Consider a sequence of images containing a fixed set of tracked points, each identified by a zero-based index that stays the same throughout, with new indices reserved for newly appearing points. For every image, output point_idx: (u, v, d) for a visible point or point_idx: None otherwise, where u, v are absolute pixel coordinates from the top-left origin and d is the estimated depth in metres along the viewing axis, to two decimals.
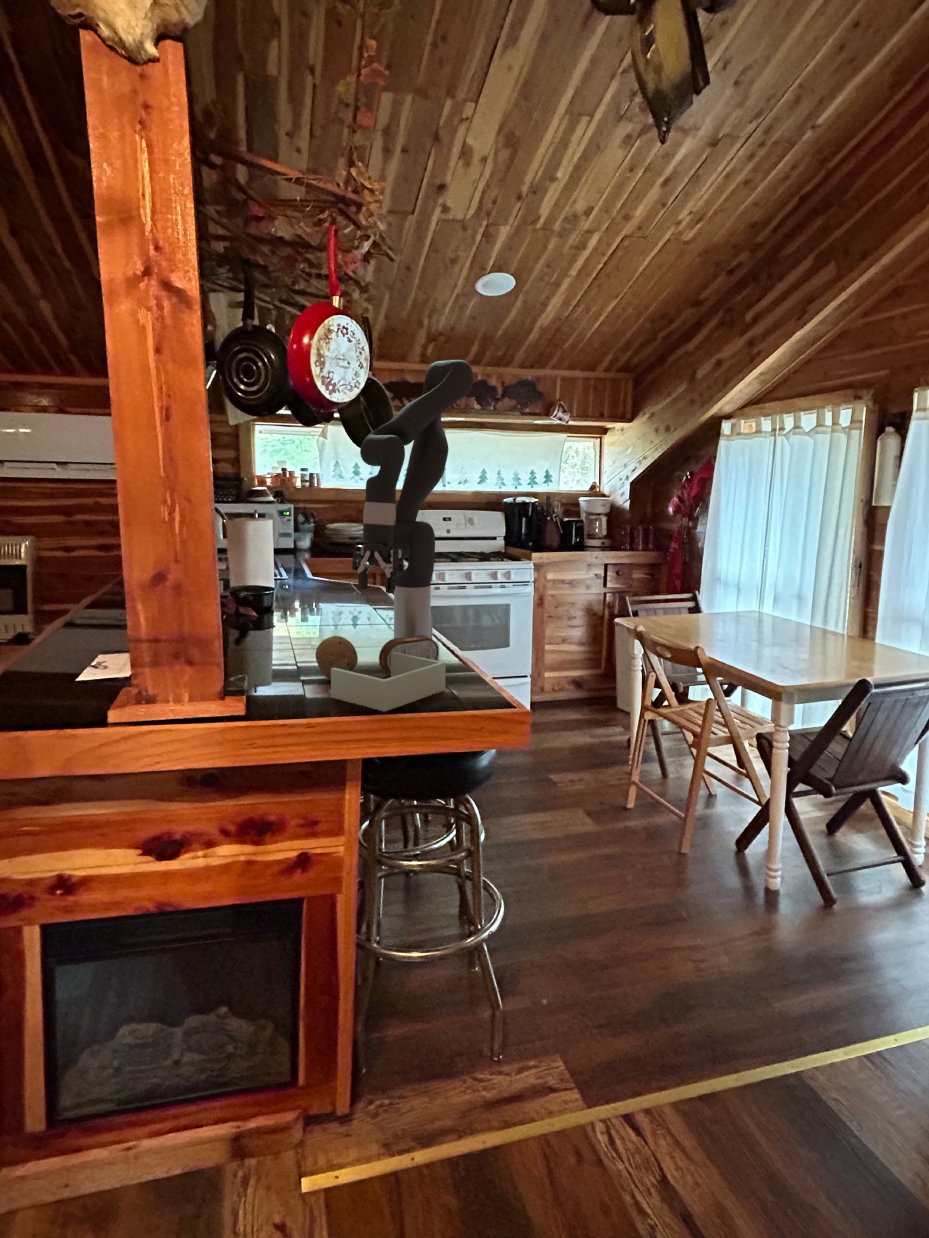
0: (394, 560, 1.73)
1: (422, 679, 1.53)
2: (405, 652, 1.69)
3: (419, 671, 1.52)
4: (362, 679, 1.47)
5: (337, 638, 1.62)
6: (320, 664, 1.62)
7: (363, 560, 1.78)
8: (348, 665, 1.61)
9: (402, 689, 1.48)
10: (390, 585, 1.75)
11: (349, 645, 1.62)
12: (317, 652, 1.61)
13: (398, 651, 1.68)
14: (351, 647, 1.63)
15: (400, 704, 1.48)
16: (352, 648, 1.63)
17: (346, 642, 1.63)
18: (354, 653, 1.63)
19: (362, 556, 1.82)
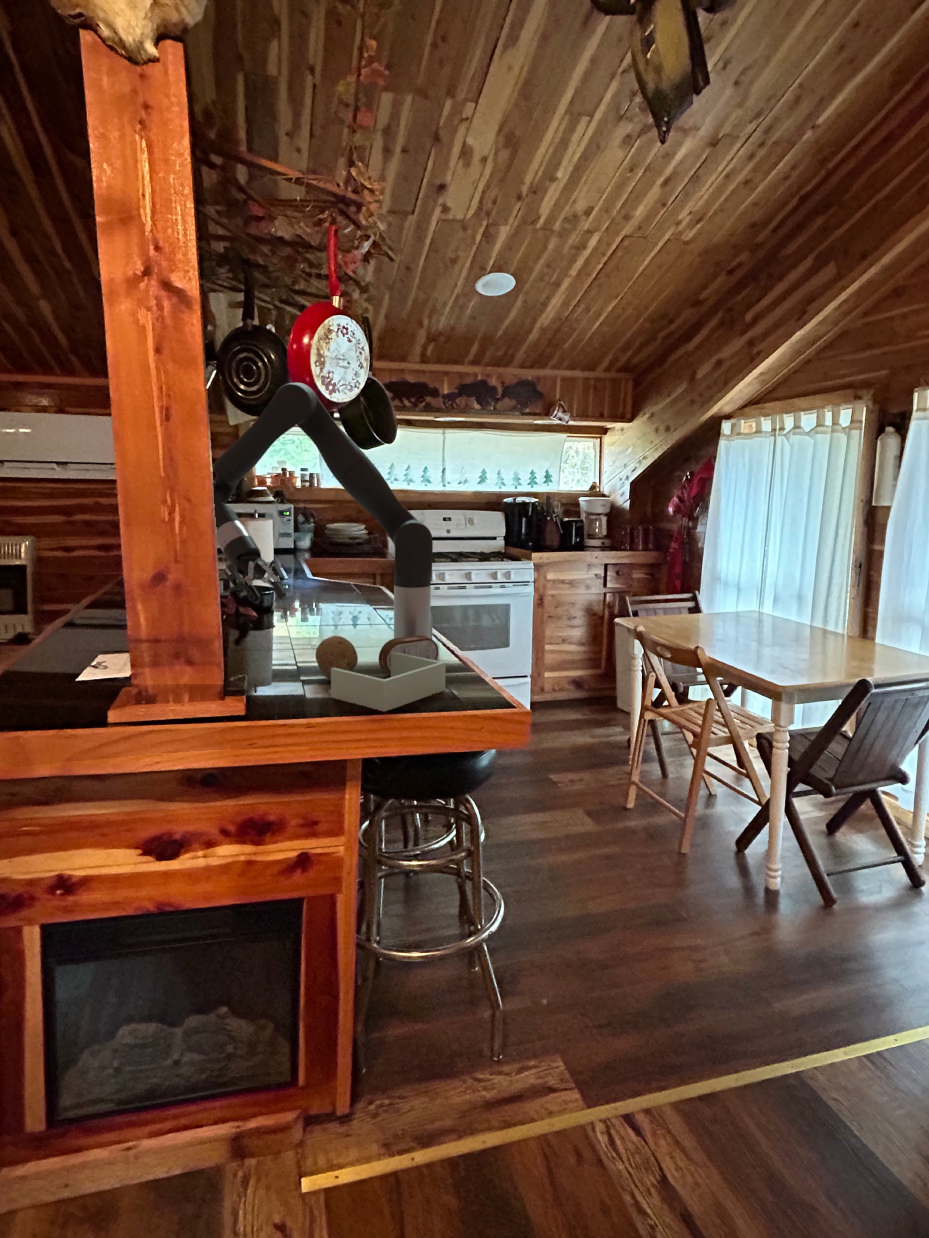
0: None
1: (422, 679, 1.53)
2: (405, 652, 1.70)
3: (419, 671, 1.52)
4: (362, 679, 1.47)
5: (337, 638, 1.62)
6: (320, 664, 1.62)
7: None
8: (348, 665, 1.61)
9: (402, 689, 1.48)
10: None
11: (349, 645, 1.62)
12: (317, 652, 1.61)
13: (398, 651, 1.68)
14: (351, 647, 1.63)
15: (400, 704, 1.48)
16: (352, 648, 1.63)
17: (346, 642, 1.63)
18: (354, 653, 1.63)
19: (275, 568, 1.81)
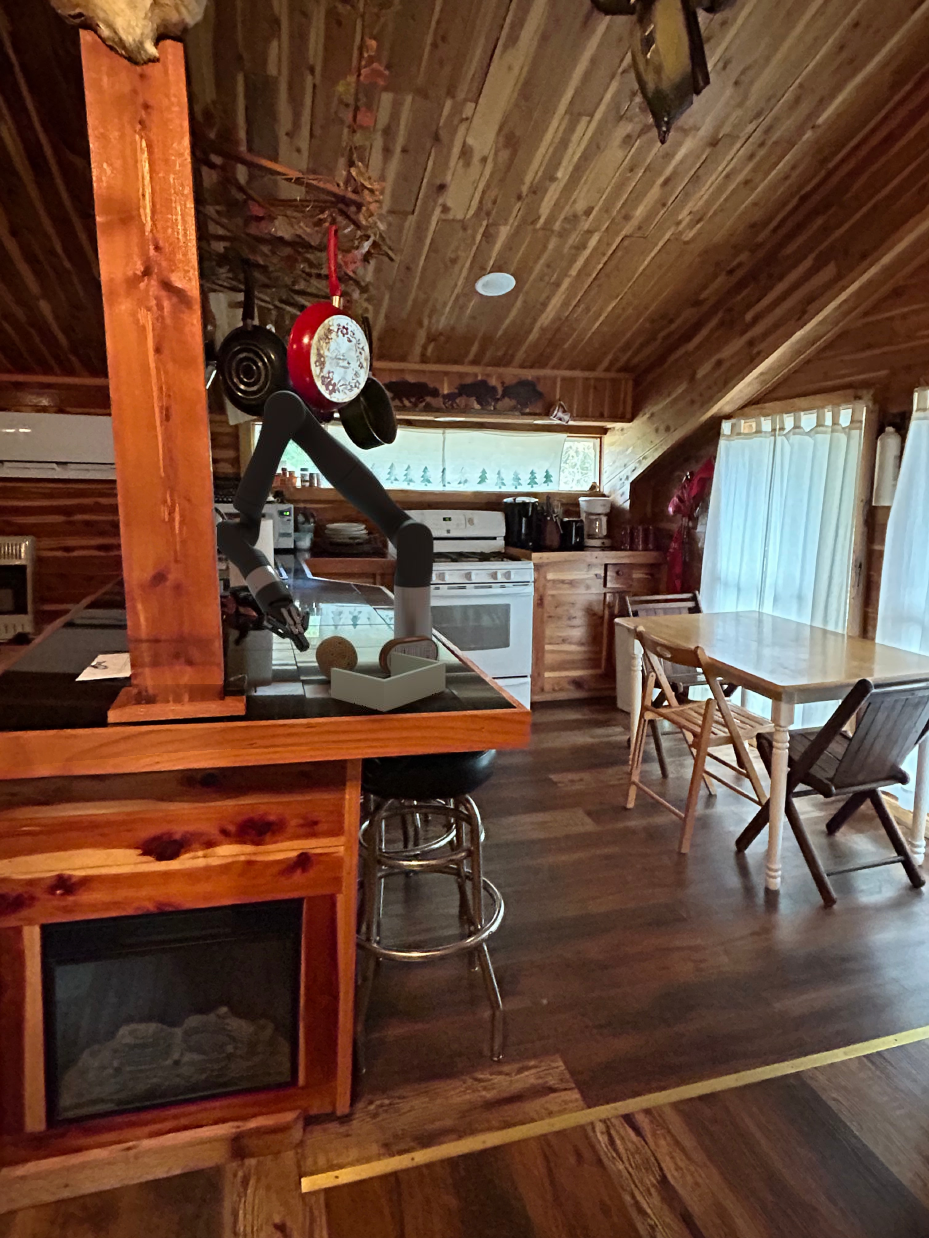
0: None
1: (422, 679, 1.53)
2: (405, 652, 1.70)
3: (419, 671, 1.52)
4: (362, 679, 1.47)
5: (337, 638, 1.62)
6: (320, 664, 1.62)
7: None
8: (348, 665, 1.61)
9: (402, 689, 1.48)
10: None
11: (349, 645, 1.62)
12: (317, 652, 1.61)
13: (398, 651, 1.68)
14: (351, 647, 1.63)
15: (400, 704, 1.48)
16: (352, 648, 1.63)
17: (346, 642, 1.63)
18: (354, 653, 1.63)
19: (303, 618, 1.75)
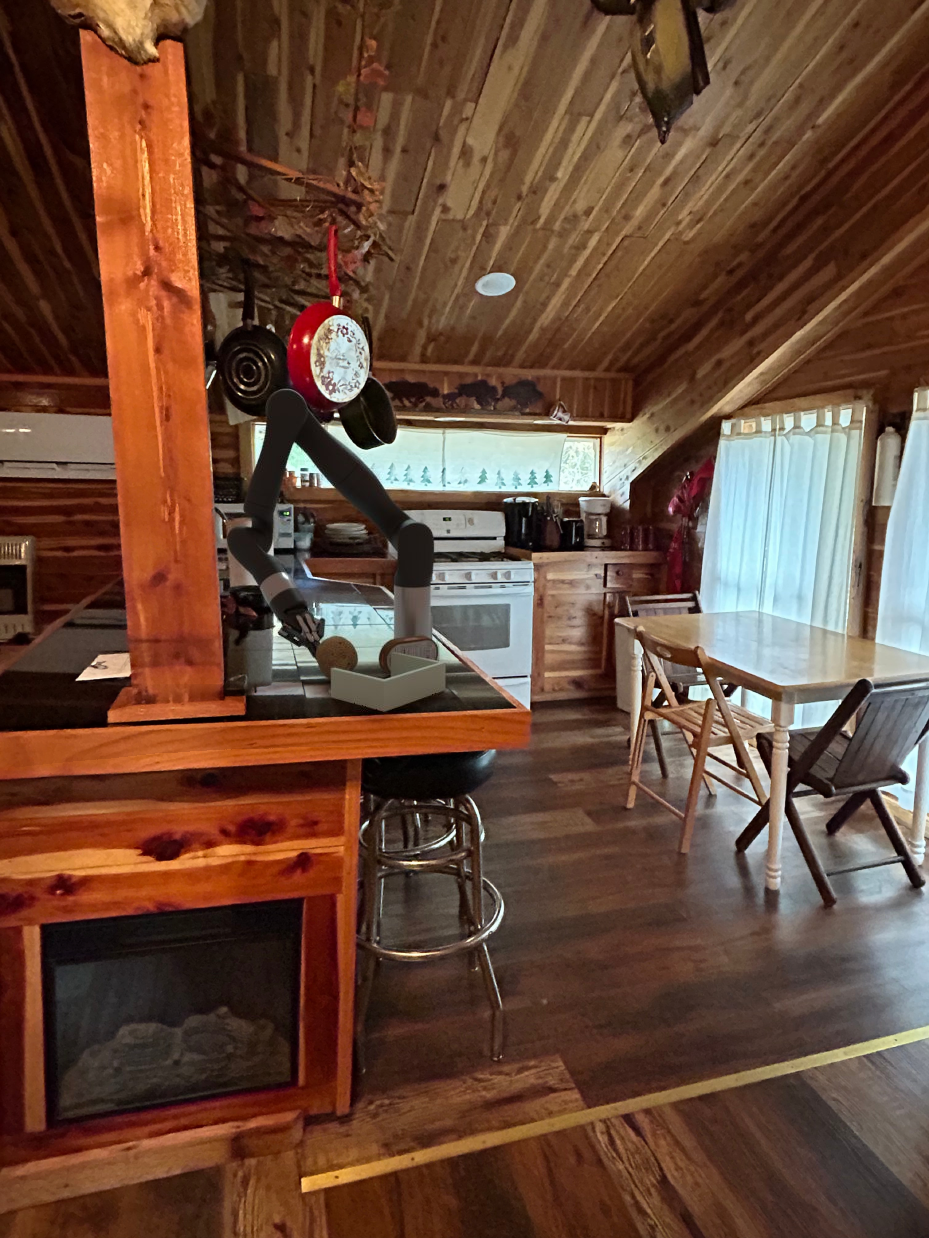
0: None
1: (422, 679, 1.53)
2: (405, 652, 1.70)
3: (419, 671, 1.52)
4: (362, 679, 1.47)
5: (337, 638, 1.62)
6: (320, 664, 1.62)
7: None
8: (348, 666, 1.61)
9: (402, 689, 1.48)
10: None
11: (349, 645, 1.62)
12: (317, 652, 1.61)
13: (398, 651, 1.68)
14: (351, 647, 1.63)
15: (400, 704, 1.48)
16: (352, 648, 1.62)
17: (346, 642, 1.62)
18: (354, 653, 1.63)
19: (319, 625, 1.72)
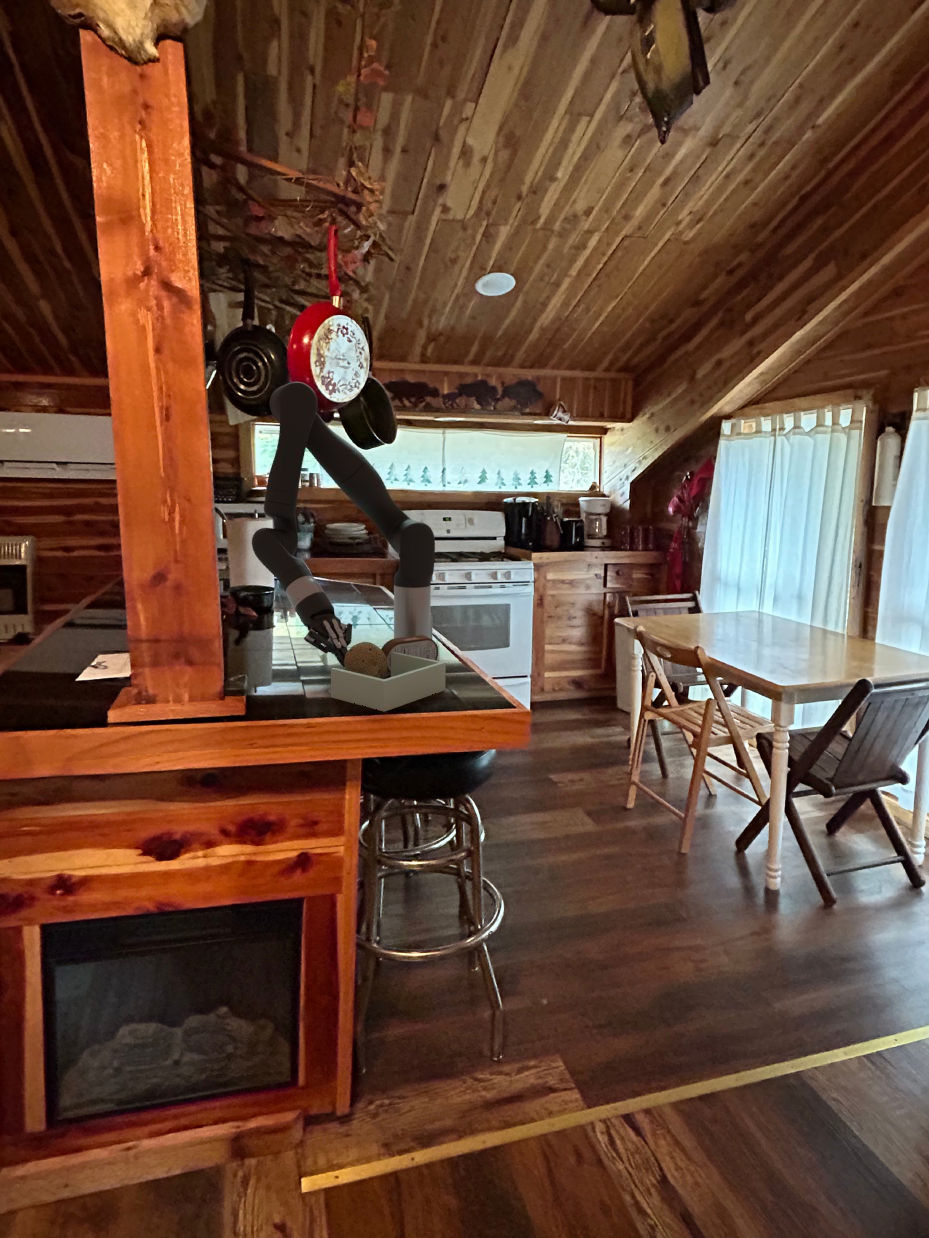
0: None
1: (422, 679, 1.53)
2: (405, 652, 1.70)
3: (419, 671, 1.52)
4: (362, 679, 1.47)
5: (367, 644, 1.57)
6: None
7: None
8: (379, 673, 1.56)
9: (402, 689, 1.48)
10: None
11: (379, 651, 1.57)
12: (347, 659, 1.56)
13: (398, 651, 1.68)
14: (381, 653, 1.57)
15: (400, 704, 1.48)
16: (382, 655, 1.57)
17: (376, 648, 1.57)
18: (384, 660, 1.58)
19: (346, 631, 1.67)
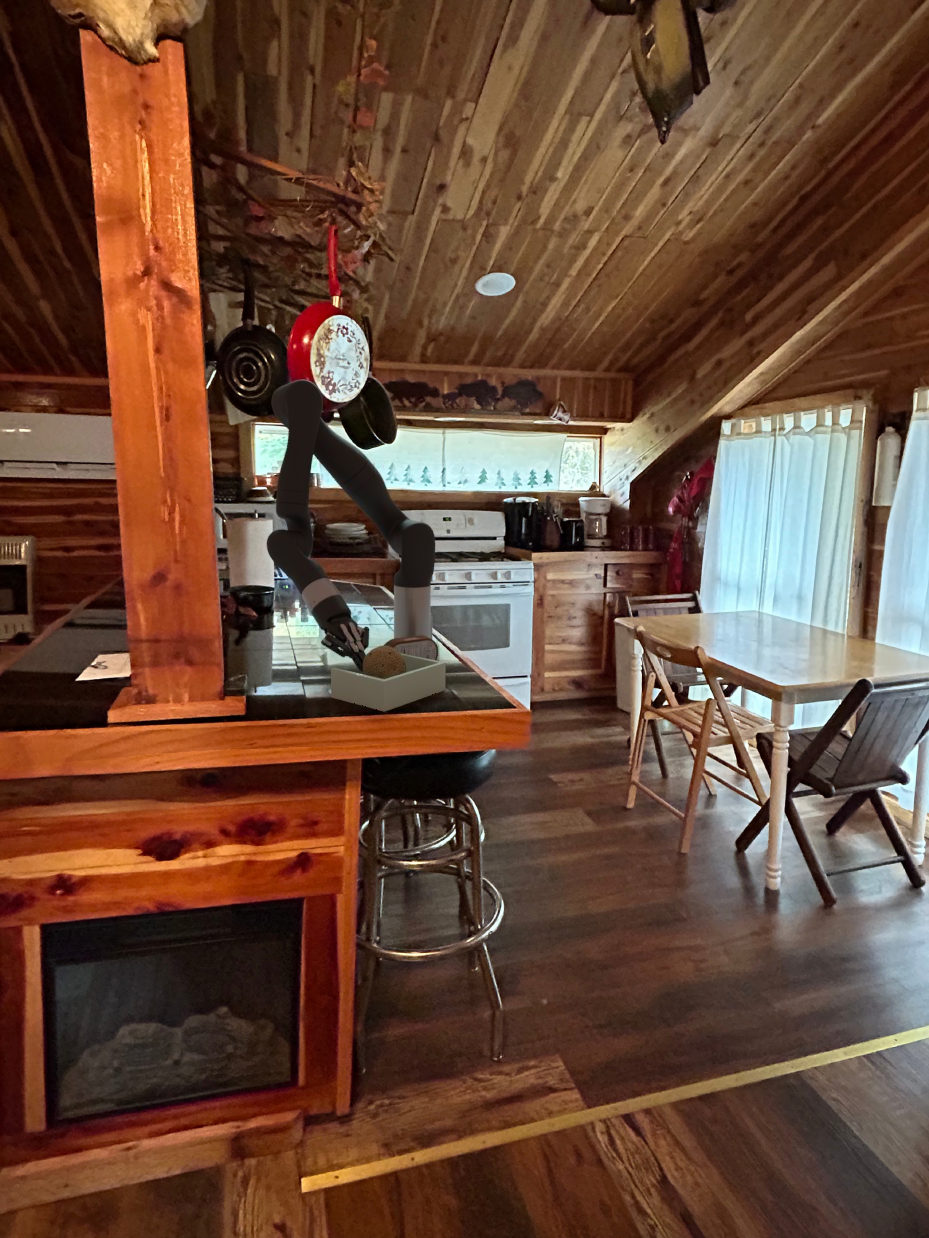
0: None
1: (422, 679, 1.53)
2: (405, 652, 1.70)
3: (419, 671, 1.52)
4: (362, 679, 1.47)
5: (386, 648, 1.54)
6: None
7: None
8: None
9: (402, 689, 1.48)
10: None
11: (399, 655, 1.54)
12: (366, 663, 1.53)
13: (398, 651, 1.68)
14: (401, 657, 1.55)
15: (400, 704, 1.48)
16: (402, 659, 1.54)
17: (396, 652, 1.54)
18: (404, 664, 1.55)
19: (363, 635, 1.64)
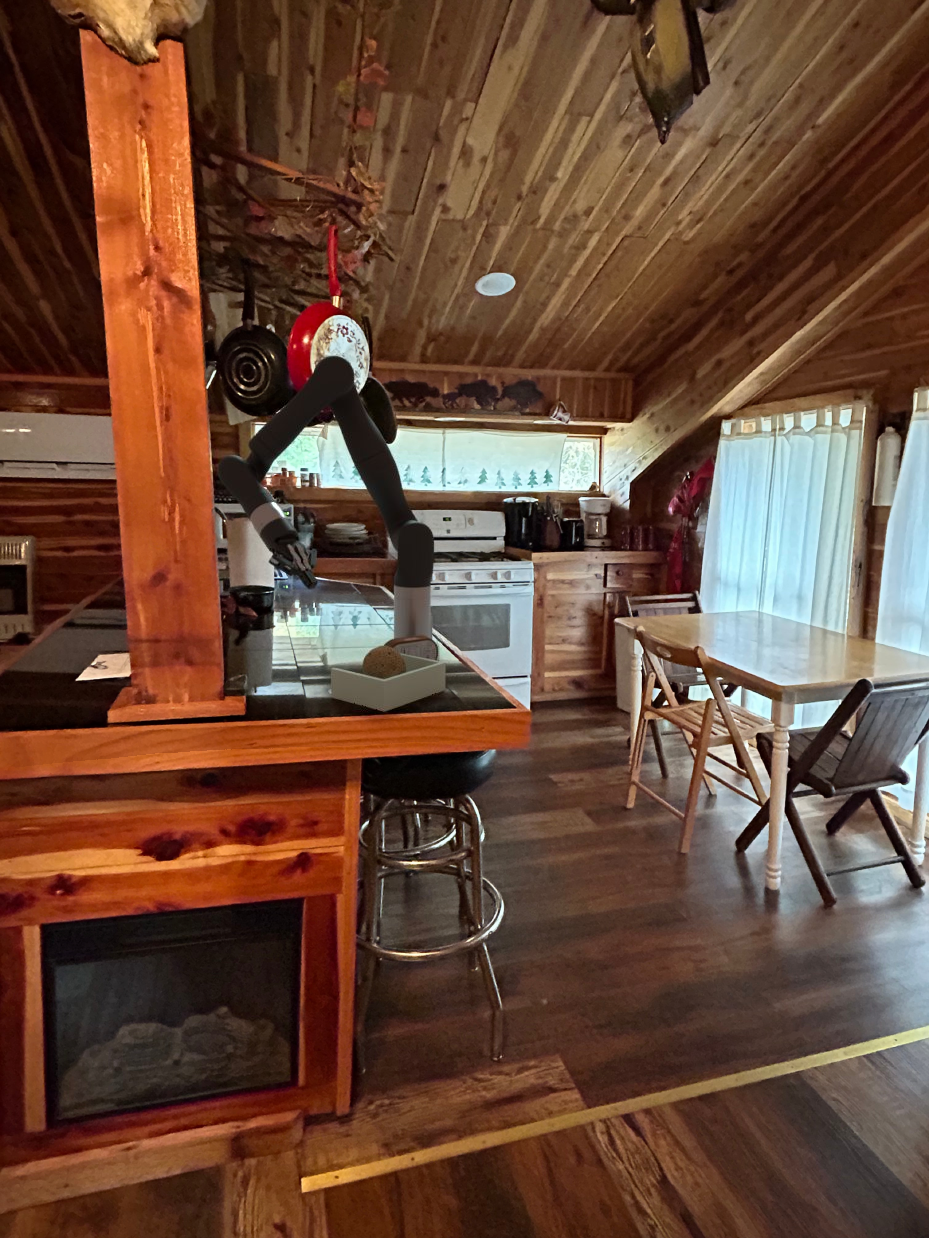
0: None
1: (422, 679, 1.53)
2: (405, 652, 1.70)
3: (419, 671, 1.52)
4: (362, 679, 1.47)
5: (386, 648, 1.54)
6: None
7: None
8: None
9: (402, 689, 1.48)
10: None
11: (398, 655, 1.54)
12: (365, 663, 1.53)
13: (398, 651, 1.68)
14: (400, 657, 1.55)
15: (400, 704, 1.48)
16: (401, 658, 1.54)
17: (395, 652, 1.54)
18: (404, 664, 1.55)
19: (310, 556, 1.70)
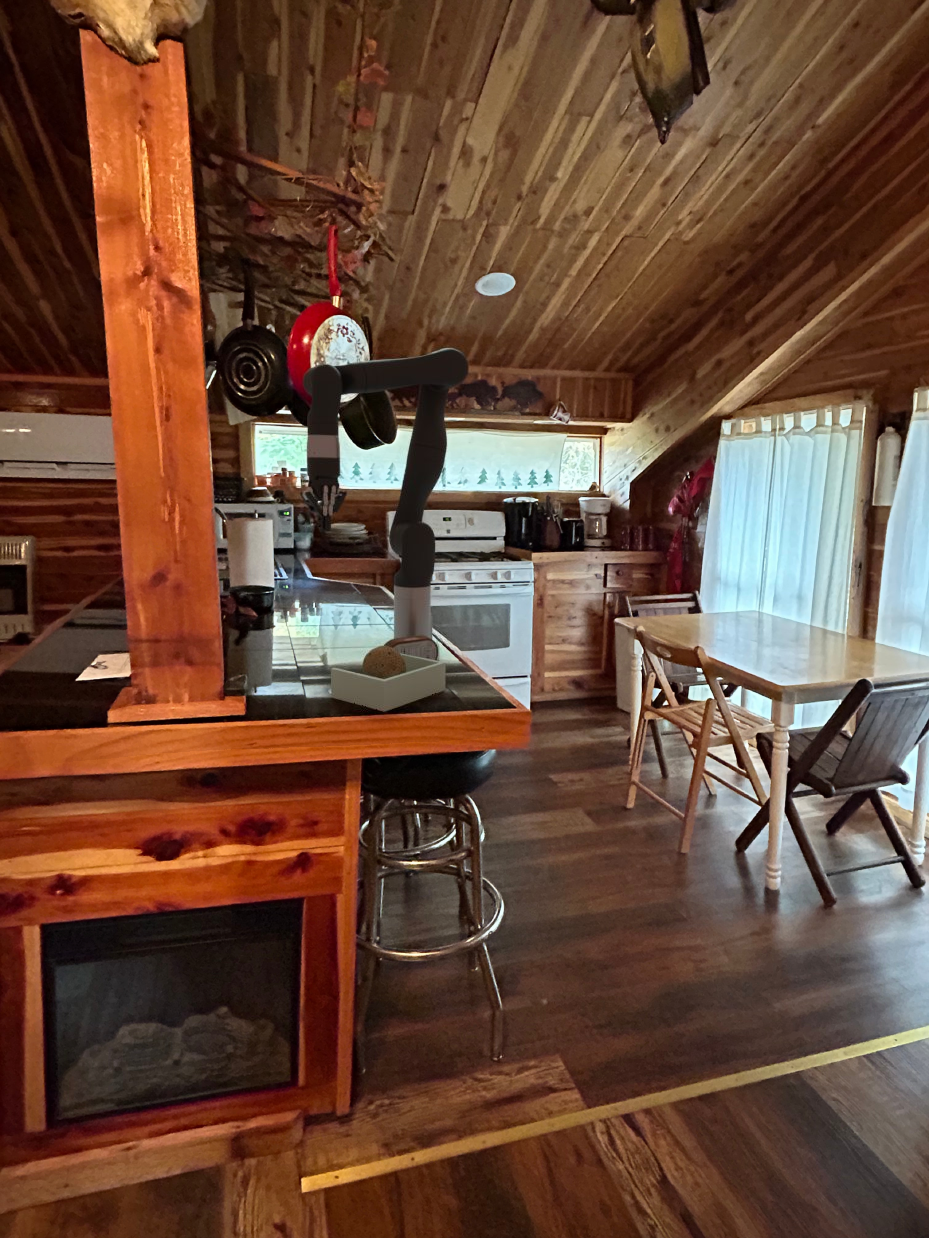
0: None
1: (422, 679, 1.53)
2: (405, 652, 1.70)
3: (419, 671, 1.52)
4: (362, 679, 1.47)
5: (386, 648, 1.54)
6: None
7: None
8: None
9: (402, 689, 1.48)
10: None
11: (398, 655, 1.54)
12: (365, 663, 1.53)
13: (398, 651, 1.68)
14: (400, 657, 1.55)
15: (400, 704, 1.48)
16: (401, 658, 1.54)
17: (395, 652, 1.54)
18: (404, 664, 1.55)
19: (338, 498, 1.78)
